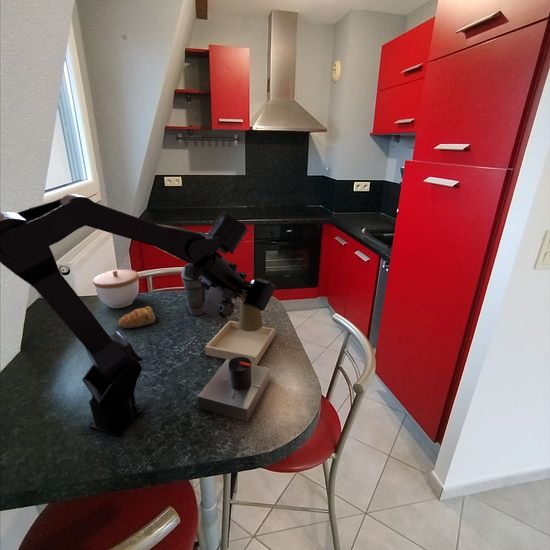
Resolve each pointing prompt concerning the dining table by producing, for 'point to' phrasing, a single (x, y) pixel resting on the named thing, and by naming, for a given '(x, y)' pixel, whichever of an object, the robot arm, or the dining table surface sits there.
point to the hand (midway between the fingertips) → (253, 300)
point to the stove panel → (233, 393)
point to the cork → (249, 317)
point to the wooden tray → (240, 343)
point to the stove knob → (240, 373)
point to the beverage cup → (194, 294)
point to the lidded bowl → (117, 287)
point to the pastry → (137, 318)
